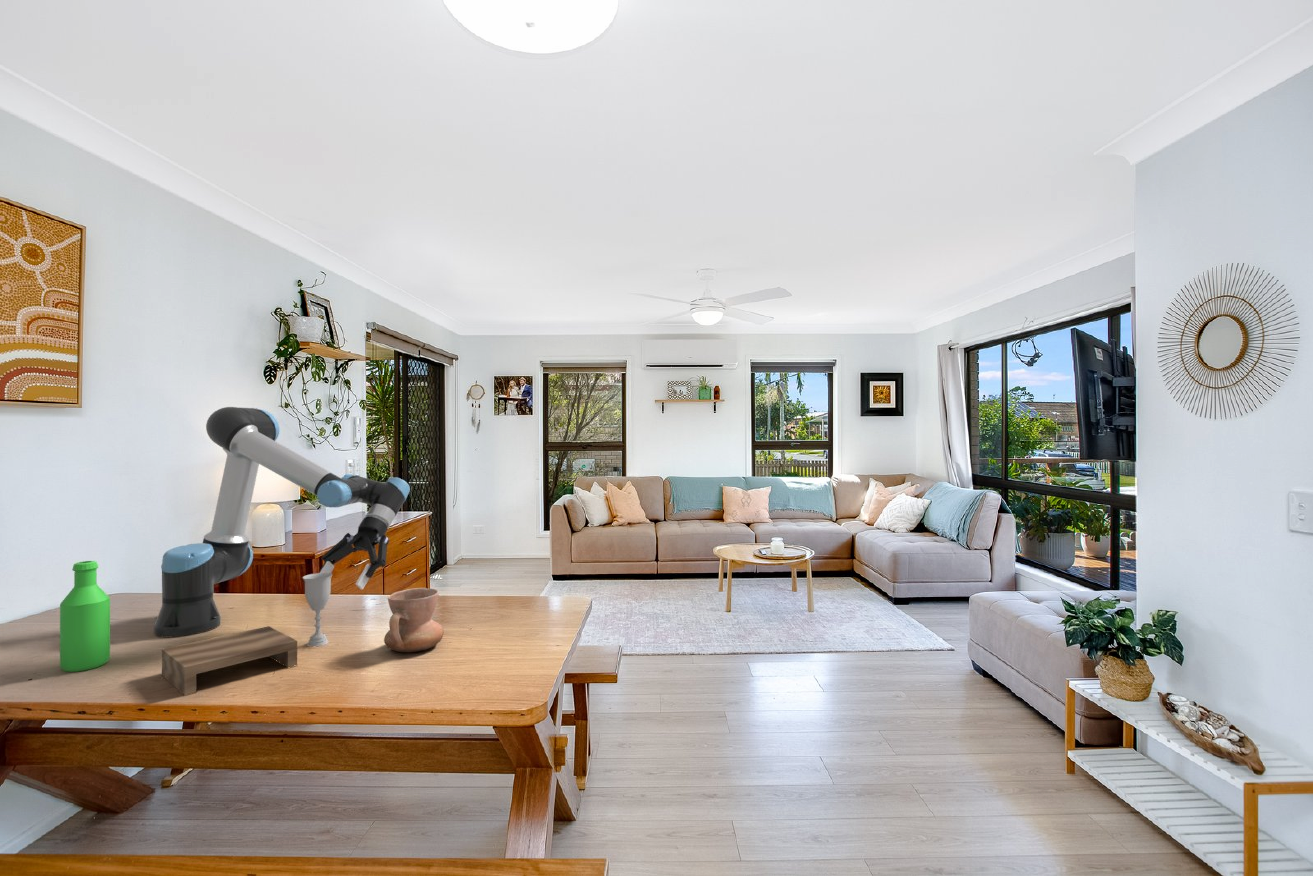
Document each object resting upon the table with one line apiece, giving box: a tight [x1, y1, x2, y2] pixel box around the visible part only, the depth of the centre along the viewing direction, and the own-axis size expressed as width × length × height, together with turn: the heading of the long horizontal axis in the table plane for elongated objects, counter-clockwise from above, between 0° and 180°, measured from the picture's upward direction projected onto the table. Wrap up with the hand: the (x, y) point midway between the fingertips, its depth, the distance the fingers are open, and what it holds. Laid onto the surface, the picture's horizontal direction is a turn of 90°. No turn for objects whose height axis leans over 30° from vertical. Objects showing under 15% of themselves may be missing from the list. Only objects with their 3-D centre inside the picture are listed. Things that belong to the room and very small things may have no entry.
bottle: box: [59, 560, 111, 673], centre depth 147 cm, size 9×9×25 cm
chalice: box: [302, 572, 333, 647], centre depth 163 cm, size 7×7×18 cm
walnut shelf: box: [161, 625, 298, 696], centre depth 144 cm, size 18×22×6 cm
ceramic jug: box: [383, 587, 445, 653], centre depth 159 cm, size 18×14×14 cm
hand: (338, 585), depth 168 cm, fingers open, 13 cm apart
